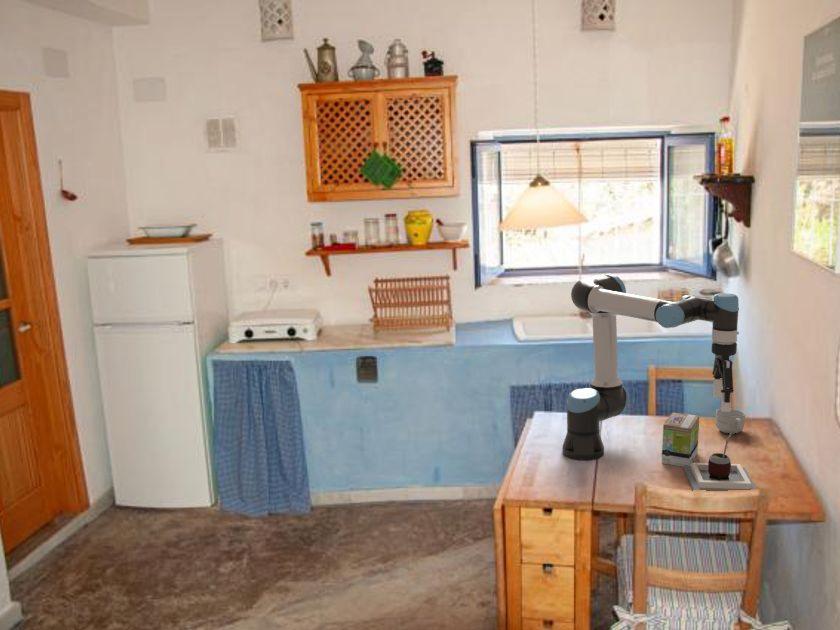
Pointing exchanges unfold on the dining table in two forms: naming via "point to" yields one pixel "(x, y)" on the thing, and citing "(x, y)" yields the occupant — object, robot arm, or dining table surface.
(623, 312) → the robot arm
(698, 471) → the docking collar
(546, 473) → the dining table surface
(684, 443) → the tea box
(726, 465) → the mate gourd
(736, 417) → the teacup
